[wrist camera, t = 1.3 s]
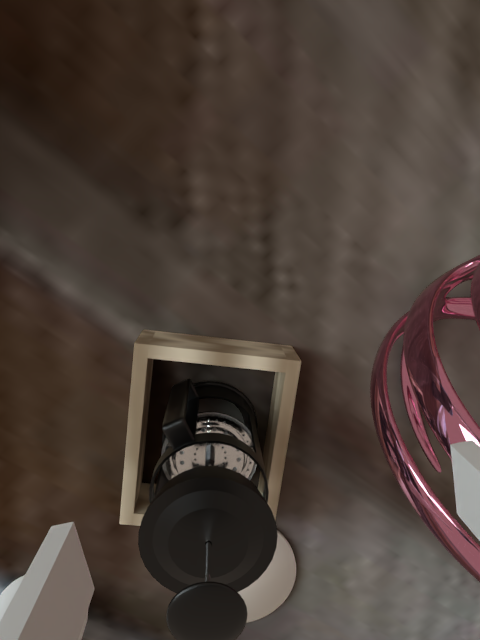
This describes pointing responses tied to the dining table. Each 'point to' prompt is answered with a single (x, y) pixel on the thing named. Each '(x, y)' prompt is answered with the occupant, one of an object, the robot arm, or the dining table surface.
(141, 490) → the holder
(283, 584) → the trivet
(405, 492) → the spiral basket
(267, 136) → the dining table surface
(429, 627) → the dining table surface
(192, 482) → the french press
